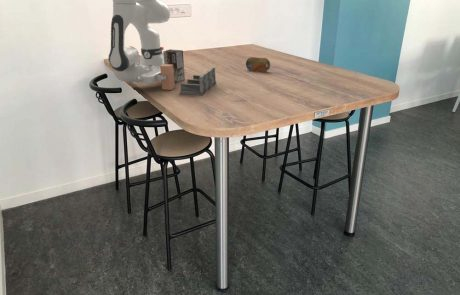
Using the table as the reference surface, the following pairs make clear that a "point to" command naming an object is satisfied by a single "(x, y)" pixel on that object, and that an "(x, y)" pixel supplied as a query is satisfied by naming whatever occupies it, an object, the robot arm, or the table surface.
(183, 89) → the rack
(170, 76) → the tall salmon pillar
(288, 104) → the table surface
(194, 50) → the table surface
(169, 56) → the coffee box
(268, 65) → the tin
